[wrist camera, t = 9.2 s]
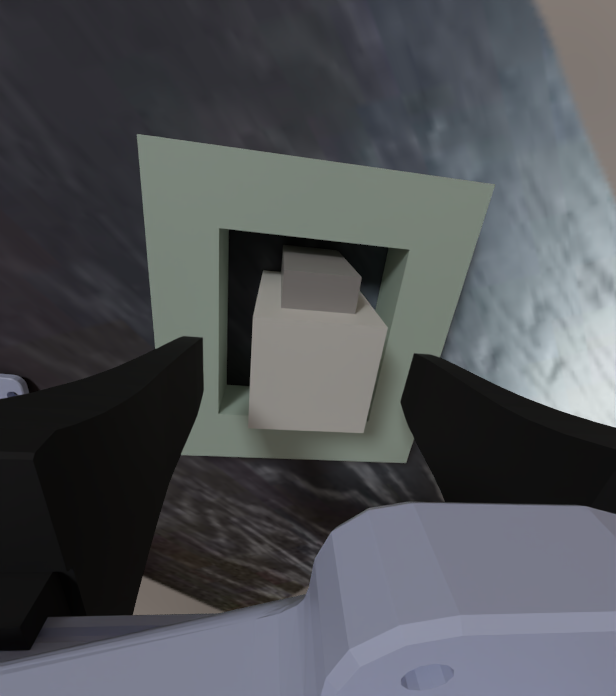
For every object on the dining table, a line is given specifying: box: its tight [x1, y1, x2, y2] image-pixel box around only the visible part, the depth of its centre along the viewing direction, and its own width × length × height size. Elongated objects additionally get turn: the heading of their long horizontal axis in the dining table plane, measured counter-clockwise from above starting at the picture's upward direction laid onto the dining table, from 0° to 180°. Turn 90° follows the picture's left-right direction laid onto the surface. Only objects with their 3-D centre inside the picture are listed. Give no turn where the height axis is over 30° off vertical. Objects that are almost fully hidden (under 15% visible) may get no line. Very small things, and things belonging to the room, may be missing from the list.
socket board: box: [137, 134, 495, 463], centre depth 15 cm, size 13×12×2 cm
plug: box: [248, 244, 388, 433], centre depth 13 cm, size 5×4×6 cm
